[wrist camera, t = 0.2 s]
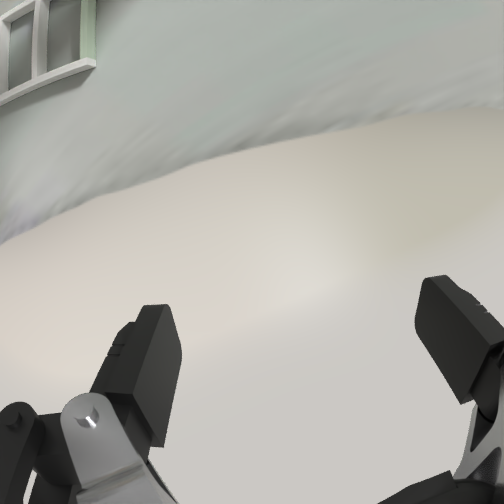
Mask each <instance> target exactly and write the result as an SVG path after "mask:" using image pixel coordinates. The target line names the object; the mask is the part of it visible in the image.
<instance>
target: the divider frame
mask: <svg viewBox="0 0 504 504" xmlns="http://www.w3.org/2000/svg"><path fill="white" fill-rule="evenodd" d="M50 1H52V0H26V1H25V2H23V3H21V4H19V5H18V6H16V7H14V8H13V9H11V10H10V11H8V12H6V13H5V14H3V15H2V16H0V106H2V105H4V104H6V103H8V102H10V101H12V100H14V99H16V98H18V97H20V96H22V95H24V94H26V93H29V92H31V91H33V90H35V89H38V88H40V87H42V86H45V85H47V84H50V83H52V82H55V81H57V80H60V79H62V78H65V77H68V76H71V75H73V74H76V73H79V72H82V71H85V70H88V69H91V68H94V67H96V44H95V30H96V0H81V16H80V60H77V61H75V62H72V63H69V64H67V65H64V66H61V67H59V68H56V69H54V70H52V71H49V72H47V37H48V19H49V7H50ZM34 9H35V10H34ZM32 10H34V21H33V34H32V79H31V80H29V81H27V82H25V83H23V84H21V85H18V86H16V87H14V88H13V89H11V90H9V81H8V71H9V44H10V31H11V22H13V21H15V20H16V19H18V18H20V17H22V16H23V15H25V14H27V13H29V12H31V11H32Z"/></svg>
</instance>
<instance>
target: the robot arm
mask: <svg viewBox="0 0 504 504" xmlns="http://www.w3.org/2000/svg"><path fill="white" fill-rule="evenodd" d="M415 329H416V333H417V335H418V337H419V338H420V340H421V341H422V343H423V344H424V346H425V347H426V349H427V350H428V352H429V354H430V355H431V357H432V358H433V360H434V361H435V363H436V365H437V366H438V368H439V369H440V371H441V373H442V374H443V376H444V378H445V379H446V381H447V383H448V384H449V386H450V388H451V389H452V391H453V393H454V394H455V396H456V398H457V399H458V401H459V403H460V404H464V403H466V402H469V401H471V400H473V399H474V400H475V402H476V404H475V406H474V408H473V410H472V416H471V421H470V427H469V432H468V437H467V441H466V446H465V450H464V454H463V458H462V461H461V463H460V465H459V467H458V468H457V470H456V472H455V474H454V476H453V477H452V474H451V472H450V470H449V471H446V472H444V473H441V474H439V475H437V476H434V477H432V478H429V479H426V480H424V481H421V482H418V483H415V484H412V485H410V486H408V487H406V488H404V489H403V490H401V491H399V492H398V493H396V494H394V495H392V496H391V497H389V498H387V499H385V500H383V501H382V502H380V503H378V504H504V328H503V326H502V325H501V324H500V323H499V322H498V321H497V320H496V319H495V318H494V317H493V316H492V315H491V314H490V313H488V312H487V310H486V308H485V307H484V306H483V305H480V302H479V301H478V300H476V298H475V297H474V296H473V295H472V294H470V293H468V292H467V291H465V290H463V289H461V288H459V287H458V286H457V285H456V284H455V283H454V282H453V281H452V280H451V279H450V278H449V277H448V276H447V275H441V276H434V277H428V278H425V279H424V280H423V282H422V286H421V291H420V297H419V301H418V306H417V310H416V315H415ZM107 355H108V356H107V357H106V358H105V360H104V362H103V364H102V366H101V368H100V370H99V372H98V374H97V377H96V379H95V381H94V383H93V385H92V388H91V390H90V392H89V393H84V394H81V395H78V396H77V397H74V398H73V399H71V400H70V401H69V402H68V403H67V404H66V405H65V407H64V408H63V410H62V412H61V413H54V414H45V415H37V413H36V412H35V411H34V410H33V408H32V407H31V406H30V405H29V404H27V403H25V402H15V403H12V404H10V405H8V406H6V407H5V408H4V409H3V410H2V411H1V412H0V504H23V497H24V493H25V490H26V487H27V484H28V481H29V477H30V474H31V472H32V469H33V470H34V471H35V472H36V473H37V476H36V479H35V483H34V485H33V489H32V492H31V495H30V499H29V503H28V504H179V503H178V502H177V500H176V499H175V497H174V496H173V495H172V493H171V492H170V490H169V489H168V487H167V486H166V485H165V483H164V482H163V480H162V478H161V477H160V475H159V474H158V472H157V471H156V469H155V468H154V466H153V465H152V463H151V461H150V460H149V459H148V455H149V450H150V447H164V443H165V438H166V433H167V428H168V423H169V418H170V413H171V408H172V403H173V399H174V394H175V389H176V384H177V380H178V375H179V370H180V366H181V361H182V350H181V344H180V340H179V337H178V333H177V330H176V326H175V323H174V319H173V316H172V312H171V309H170V307H169V305H167V304H161V305H144V306H143V307H142V309H141V311H140V313H139V315H138V317H137V319H136V321H135V322H129V323H128V324H127V325H125V326H124V327H123V328H122V329H121V330H120V331H119V332H118V334H117V336H116V337H115V339H114V341H113V344H112V347H110V350H109V352H108V354H107Z"/></svg>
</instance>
